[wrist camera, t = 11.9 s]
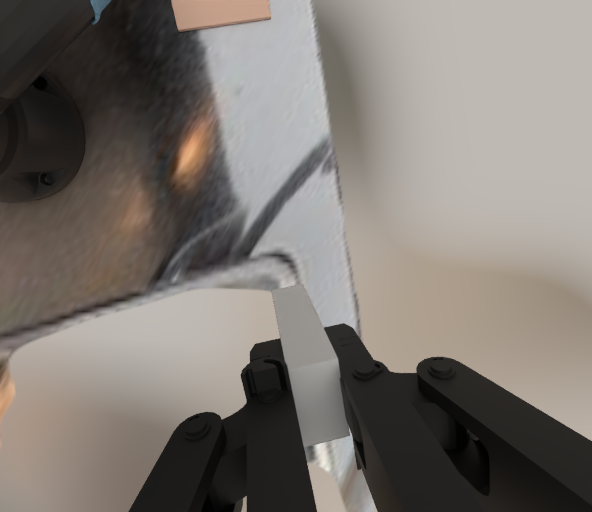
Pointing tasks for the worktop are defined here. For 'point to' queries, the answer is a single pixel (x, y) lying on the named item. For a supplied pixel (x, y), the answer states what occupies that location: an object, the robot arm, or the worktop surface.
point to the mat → (218, 12)
